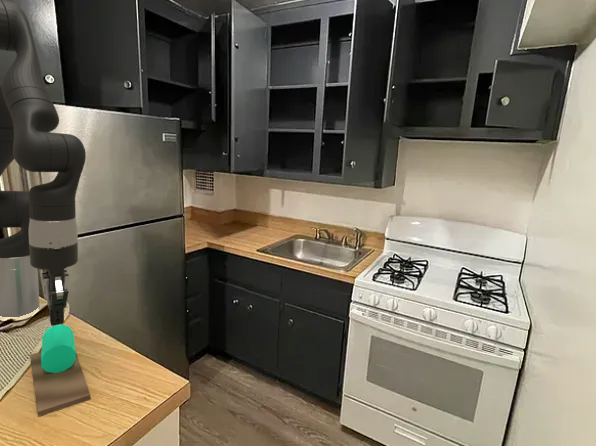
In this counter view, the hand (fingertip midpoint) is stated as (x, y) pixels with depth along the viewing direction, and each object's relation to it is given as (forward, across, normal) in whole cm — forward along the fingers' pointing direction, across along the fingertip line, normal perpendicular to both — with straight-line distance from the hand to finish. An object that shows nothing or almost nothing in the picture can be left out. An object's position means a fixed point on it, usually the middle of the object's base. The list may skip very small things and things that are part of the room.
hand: (57, 323), depth 69 cm
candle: (+8, +1, 0) cm, 8 cm away
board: (+12, +1, 0) cm, 12 cm away
